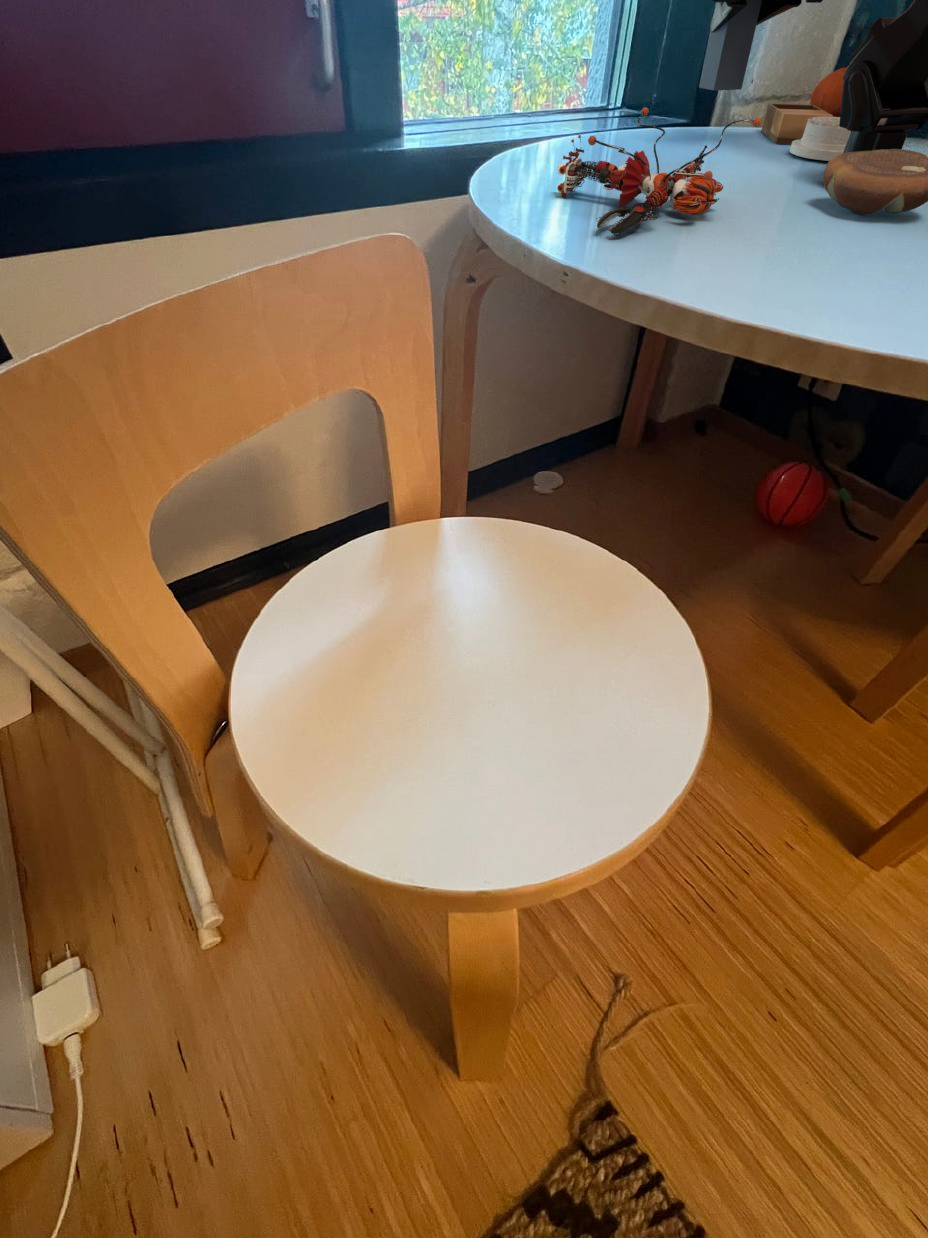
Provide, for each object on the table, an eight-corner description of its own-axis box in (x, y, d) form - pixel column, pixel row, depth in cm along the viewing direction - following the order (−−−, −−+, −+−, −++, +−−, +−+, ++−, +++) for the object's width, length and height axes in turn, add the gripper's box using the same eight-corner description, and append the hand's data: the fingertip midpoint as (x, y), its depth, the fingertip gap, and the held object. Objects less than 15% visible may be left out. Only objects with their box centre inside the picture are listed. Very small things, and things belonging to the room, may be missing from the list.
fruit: (807, 117, 125) (823, 61, 120) (859, 122, 122) (878, 64, 117) (800, 124, 119) (817, 65, 114) (855, 129, 117) (875, 69, 111)
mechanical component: (822, 165, 95) (877, 161, 98) (834, 127, 92) (891, 123, 95) (774, 151, 102) (826, 148, 105) (784, 115, 99) (838, 112, 102)
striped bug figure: (497, 231, 74) (666, 280, 68) (501, 137, 68) (690, 181, 61) (598, 161, 88) (748, 197, 81) (610, 76, 81) (775, 107, 74)
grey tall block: (741, 89, 101) (770, -34, 92) (713, 90, 99) (739, -34, 90) (726, 86, 103) (752, -34, 94) (698, 87, 101) (722, -35, 92)
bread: (908, 141, 78) (889, 191, 82) (813, 151, 77) (799, 200, 81) (972, 170, 71) (949, 223, 75) (869, 181, 70) (850, 234, 74)
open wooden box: (823, 145, 106) (833, 115, 103) (775, 143, 107) (784, 113, 104) (805, 133, 114) (814, 104, 111) (761, 131, 114) (768, 103, 111)
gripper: (853, -148, 85) (764, -27, 100) (731, -158, 80) (656, -28, 95) (876, -59, 85) (784, 48, 100) (755, -64, 80) (677, 51, 95)
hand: (727, 28), depth 97 cm, fingers closed on grey tall block, 5 cm apart
